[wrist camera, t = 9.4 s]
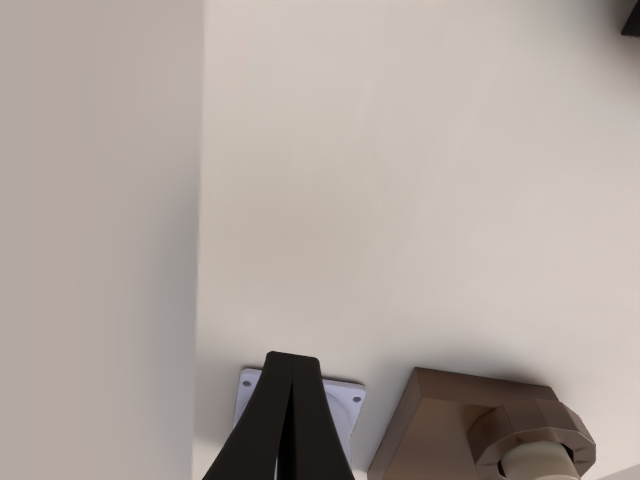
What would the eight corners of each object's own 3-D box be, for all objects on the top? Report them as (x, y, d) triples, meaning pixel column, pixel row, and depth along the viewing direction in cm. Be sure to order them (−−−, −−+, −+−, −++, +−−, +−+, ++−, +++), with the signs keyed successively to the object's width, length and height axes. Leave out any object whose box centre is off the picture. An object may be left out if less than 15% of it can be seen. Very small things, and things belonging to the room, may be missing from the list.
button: (546, 477, 24) (563, 514, 23) (490, 469, 24) (503, 507, 22) (577, 442, 23) (598, 479, 21) (516, 434, 22) (532, 471, 21)
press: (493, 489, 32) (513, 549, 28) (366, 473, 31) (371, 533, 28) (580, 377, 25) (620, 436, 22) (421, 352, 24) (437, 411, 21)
